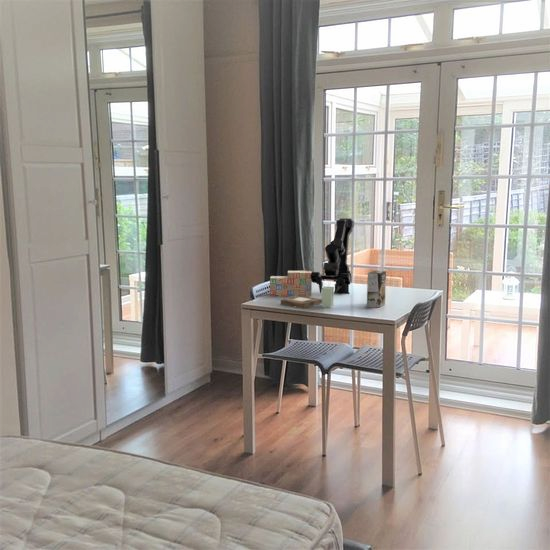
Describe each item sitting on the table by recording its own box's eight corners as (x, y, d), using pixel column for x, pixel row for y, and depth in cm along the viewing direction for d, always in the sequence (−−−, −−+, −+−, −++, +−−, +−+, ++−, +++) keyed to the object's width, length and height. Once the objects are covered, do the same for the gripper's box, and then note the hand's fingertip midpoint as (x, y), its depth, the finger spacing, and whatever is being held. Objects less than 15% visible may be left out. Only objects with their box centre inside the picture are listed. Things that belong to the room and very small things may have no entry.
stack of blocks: (269, 296, 313) (269, 272, 311) (270, 293, 319) (270, 270, 317) (311, 296, 312) (311, 272, 310) (311, 293, 318) (311, 270, 316)
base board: (299, 299, 304) (299, 295, 303) (321, 303, 295) (321, 298, 294) (280, 304, 293) (280, 299, 293) (303, 308, 284) (303, 303, 284)
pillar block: (324, 305, 291) (324, 286, 289) (333, 305, 289) (333, 287, 288) (321, 307, 286) (321, 288, 285) (331, 307, 285) (331, 288, 283)
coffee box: (379, 308, 284) (380, 273, 281) (366, 306, 287) (367, 272, 284) (385, 304, 292) (386, 270, 289) (372, 303, 295) (373, 269, 292)
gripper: (311, 255, 291) (305, 281, 283) (350, 256, 286) (344, 283, 277) (315, 268, 300) (309, 295, 292) (353, 270, 294) (348, 297, 286)
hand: (327, 292), depth 286 cm, fingers open, 7 cm apart
